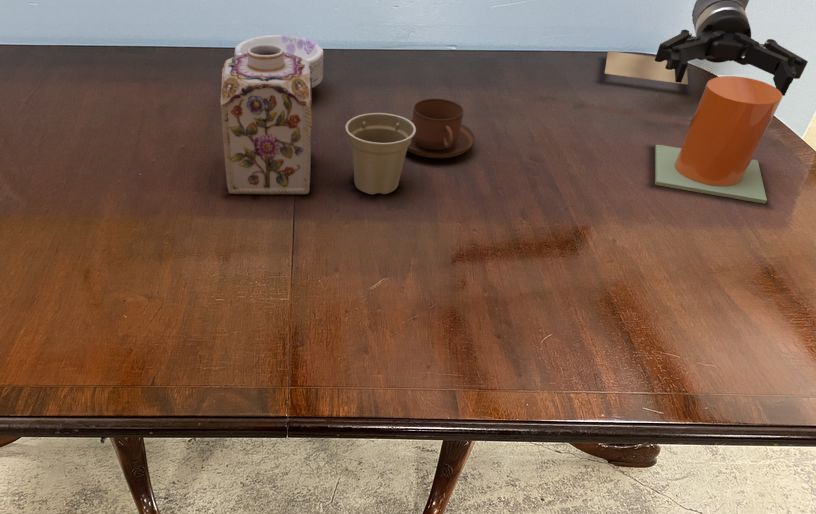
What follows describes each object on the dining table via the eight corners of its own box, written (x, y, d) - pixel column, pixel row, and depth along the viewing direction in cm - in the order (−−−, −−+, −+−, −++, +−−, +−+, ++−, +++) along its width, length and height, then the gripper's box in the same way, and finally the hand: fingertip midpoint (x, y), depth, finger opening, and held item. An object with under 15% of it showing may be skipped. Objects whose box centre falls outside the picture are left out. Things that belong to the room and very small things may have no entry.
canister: (739, 161, 98) (778, 81, 90) (745, 191, 92) (787, 108, 84) (673, 151, 101) (705, 72, 93) (674, 179, 95) (709, 97, 87)
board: (683, 68, 126) (686, 60, 125) (685, 92, 118) (688, 84, 117) (605, 58, 130) (607, 50, 129) (602, 81, 122) (604, 73, 121)
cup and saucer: (489, 152, 102) (496, 114, 98) (427, 173, 97) (433, 134, 93) (437, 123, 110) (443, 86, 105) (378, 141, 105) (381, 103, 101)
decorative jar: (226, 196, 93) (214, 66, 81) (233, 155, 101) (224, 33, 89) (312, 196, 93) (313, 66, 81) (312, 155, 101) (313, 33, 89)
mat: (756, 163, 99) (757, 160, 99) (765, 204, 91) (767, 200, 90) (654, 147, 103) (656, 144, 103) (654, 185, 95) (656, 181, 94)
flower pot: (353, 163, 100) (356, 108, 94) (415, 174, 97) (422, 117, 91) (334, 195, 93) (336, 137, 87) (400, 206, 91) (407, 148, 85)
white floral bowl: (331, 80, 123) (332, 36, 117) (311, 116, 112) (311, 68, 106) (252, 73, 125) (249, 29, 120) (225, 106, 114) (221, 60, 109)
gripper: (796, 65, 110) (818, 117, 95) (634, 46, 117) (632, 92, 102) (819, 17, 105) (846, 64, 90) (649, 0, 112) (649, 42, 97)
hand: (732, 79), depth 96 cm, fingers open, 13 cm apart
